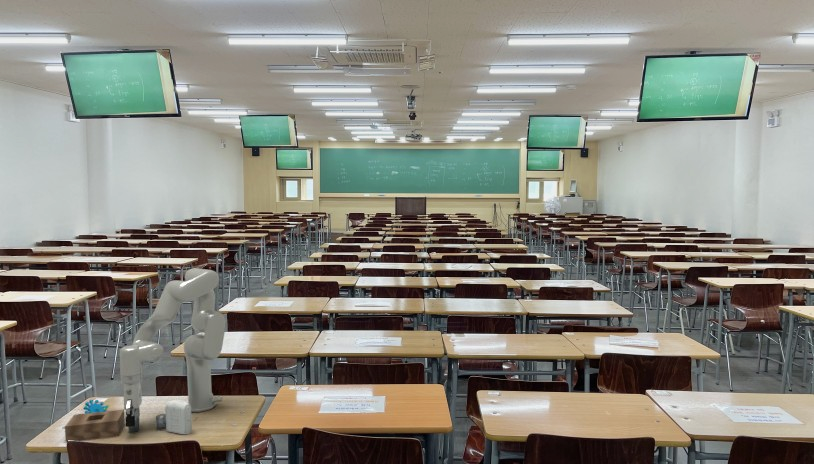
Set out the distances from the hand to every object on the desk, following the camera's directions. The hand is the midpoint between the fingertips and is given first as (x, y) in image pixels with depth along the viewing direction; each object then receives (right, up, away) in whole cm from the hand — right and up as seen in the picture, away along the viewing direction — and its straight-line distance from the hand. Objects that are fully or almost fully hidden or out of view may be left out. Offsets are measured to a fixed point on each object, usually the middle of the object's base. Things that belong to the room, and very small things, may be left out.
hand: (132, 421), depth 223 cm
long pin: (0, -4, +1) cm, 4 cm away
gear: (-22, -4, +14) cm, 26 cm away
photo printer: (+18, -4, -1) cm, 19 cm away
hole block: (-14, -4, 0) cm, 15 cm away
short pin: (+10, -4, +3) cm, 11 cm away
